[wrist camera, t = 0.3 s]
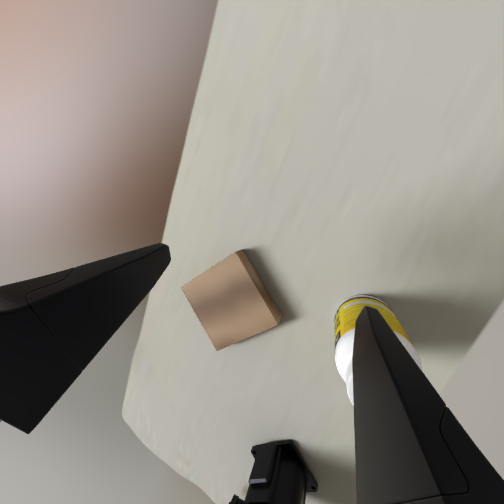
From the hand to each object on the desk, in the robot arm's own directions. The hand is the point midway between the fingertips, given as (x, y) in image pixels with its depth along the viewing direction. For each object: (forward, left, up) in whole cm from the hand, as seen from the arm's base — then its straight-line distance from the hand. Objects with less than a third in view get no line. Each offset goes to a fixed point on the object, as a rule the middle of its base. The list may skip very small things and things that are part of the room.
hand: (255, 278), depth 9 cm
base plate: (-2, +11, -14) cm, 18 cm away
